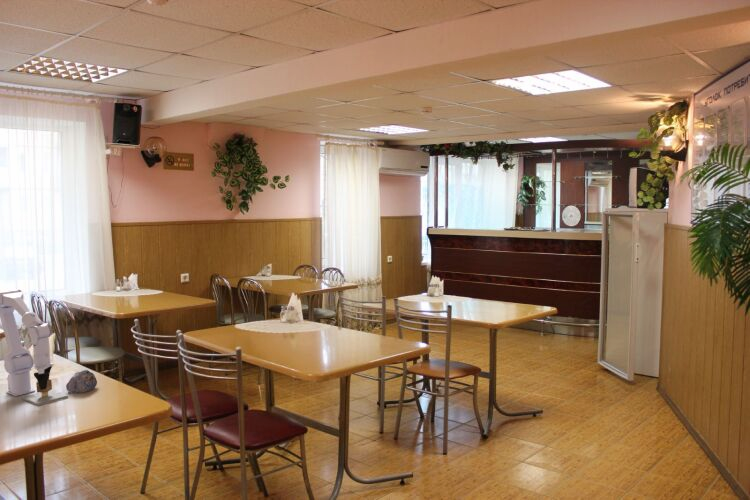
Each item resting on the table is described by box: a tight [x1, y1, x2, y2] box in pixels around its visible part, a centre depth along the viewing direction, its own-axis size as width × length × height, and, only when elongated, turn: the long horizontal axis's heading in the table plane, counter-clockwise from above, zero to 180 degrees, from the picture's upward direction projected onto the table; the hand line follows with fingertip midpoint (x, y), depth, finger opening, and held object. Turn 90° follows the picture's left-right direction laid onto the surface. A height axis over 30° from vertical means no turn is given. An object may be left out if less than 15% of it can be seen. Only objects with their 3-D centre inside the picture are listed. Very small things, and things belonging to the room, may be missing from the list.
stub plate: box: [21, 388, 69, 407], centre depth 256 cm, size 14×12×3 cm
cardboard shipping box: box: [36, 379, 53, 393], centre depth 255 cm, size 4×4×4 cm
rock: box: [65, 369, 98, 394], centre depth 266 cm, size 11×10×10 cm
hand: (44, 386), depth 255 cm, fingers open, 7 cm apart
